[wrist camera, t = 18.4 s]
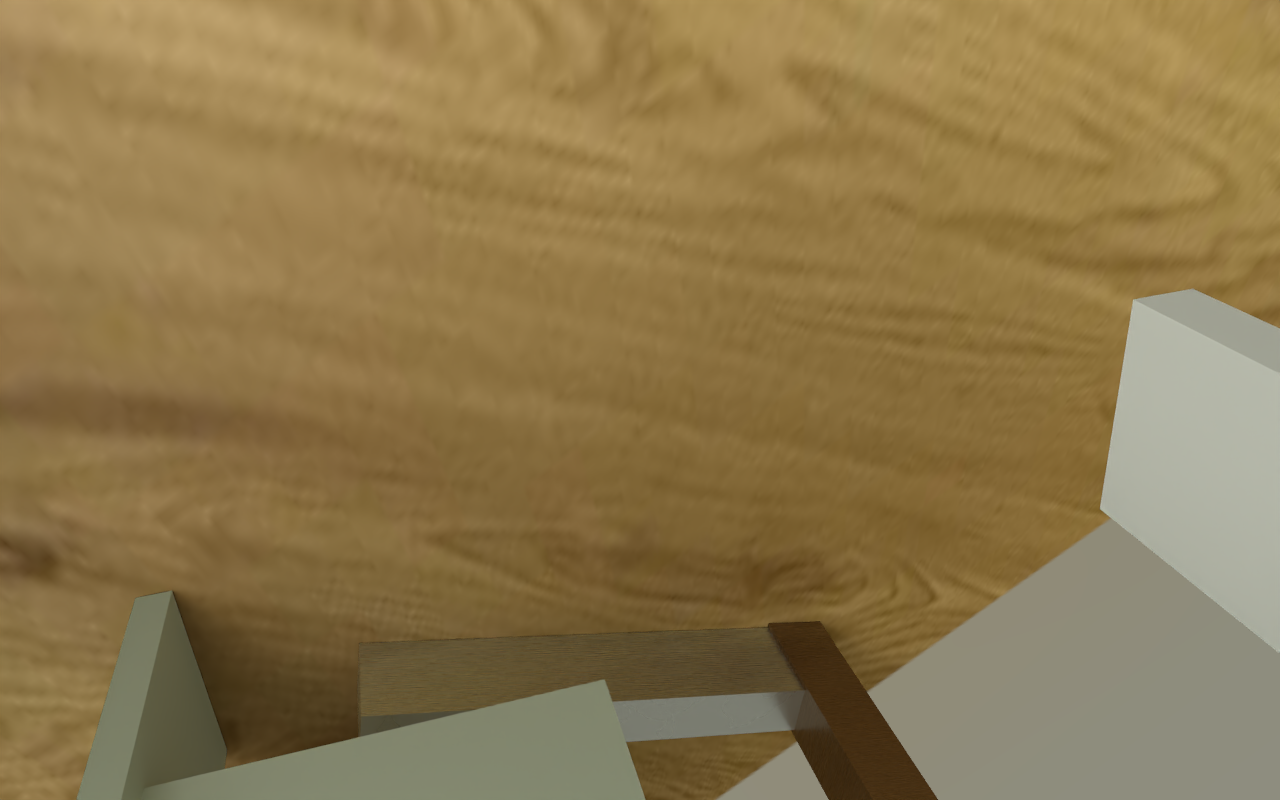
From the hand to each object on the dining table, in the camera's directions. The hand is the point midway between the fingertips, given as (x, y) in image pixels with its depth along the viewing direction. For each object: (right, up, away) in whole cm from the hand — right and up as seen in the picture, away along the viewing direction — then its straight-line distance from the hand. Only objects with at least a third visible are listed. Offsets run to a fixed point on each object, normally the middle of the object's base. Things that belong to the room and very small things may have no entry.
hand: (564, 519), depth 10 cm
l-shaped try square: (-1, -12, +42) cm, 44 cm away
